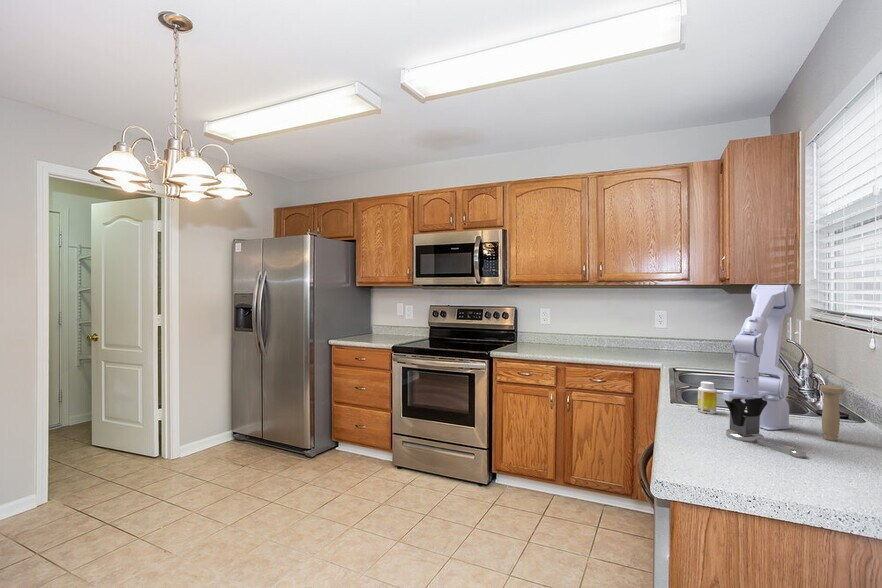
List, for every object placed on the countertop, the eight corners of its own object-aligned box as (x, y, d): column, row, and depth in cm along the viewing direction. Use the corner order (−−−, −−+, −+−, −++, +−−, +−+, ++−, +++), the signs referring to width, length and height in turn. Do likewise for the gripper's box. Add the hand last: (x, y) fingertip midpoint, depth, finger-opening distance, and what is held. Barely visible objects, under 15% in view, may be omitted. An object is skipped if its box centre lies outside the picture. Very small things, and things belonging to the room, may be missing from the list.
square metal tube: (742, 428, 130) (743, 411, 130) (759, 433, 126) (759, 416, 126) (729, 429, 129) (730, 412, 129) (745, 434, 124) (746, 417, 124)
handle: (843, 439, 127) (845, 387, 127) (839, 444, 123) (840, 389, 123) (821, 435, 131) (823, 384, 131) (816, 439, 127) (818, 386, 126)
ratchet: (742, 431, 133) (742, 415, 133) (817, 456, 113) (818, 438, 113) (718, 433, 130) (718, 417, 130) (791, 459, 110) (791, 441, 110)
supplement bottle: (720, 413, 152) (720, 383, 152) (708, 415, 150) (708, 384, 150) (705, 409, 157) (706, 380, 157) (693, 410, 155) (694, 381, 155)
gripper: (739, 380, 121) (738, 430, 121) (779, 378, 125) (778, 427, 125) (717, 375, 128) (715, 423, 128) (755, 374, 132) (754, 419, 132)
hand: (745, 424), depth 127 cm, fingers closed on square metal tube, 5 cm apart
